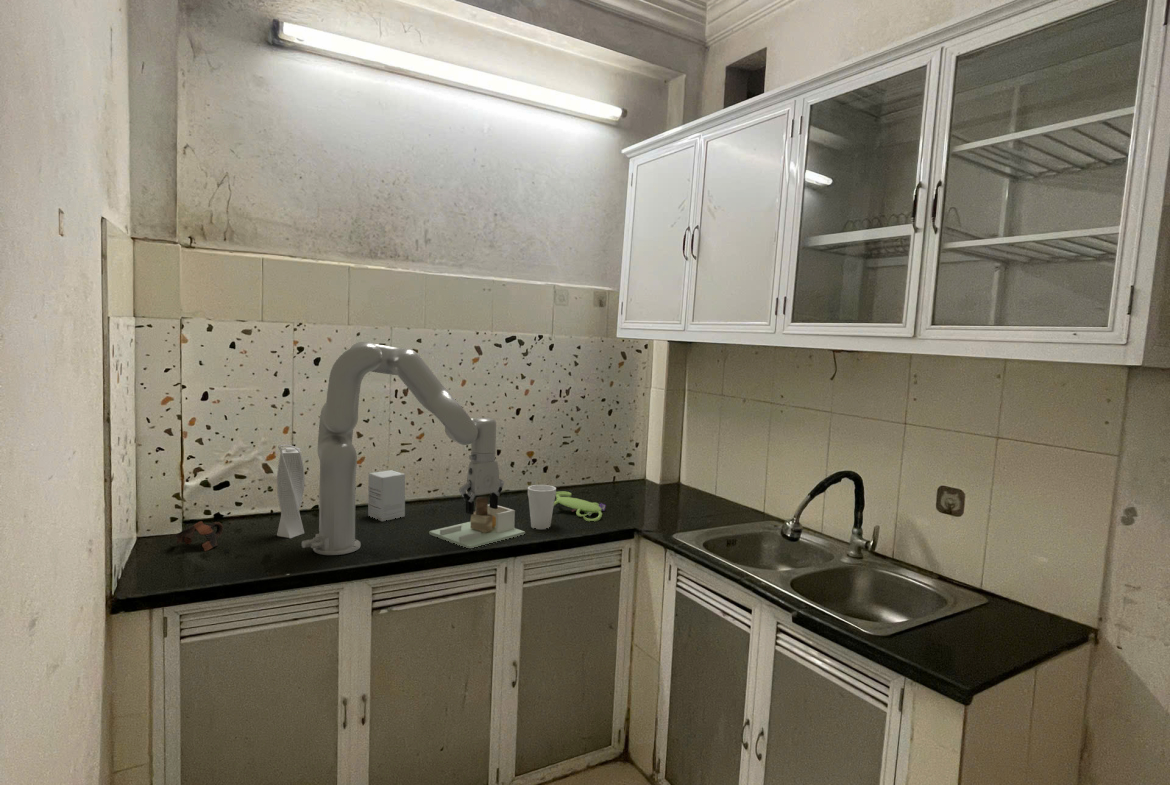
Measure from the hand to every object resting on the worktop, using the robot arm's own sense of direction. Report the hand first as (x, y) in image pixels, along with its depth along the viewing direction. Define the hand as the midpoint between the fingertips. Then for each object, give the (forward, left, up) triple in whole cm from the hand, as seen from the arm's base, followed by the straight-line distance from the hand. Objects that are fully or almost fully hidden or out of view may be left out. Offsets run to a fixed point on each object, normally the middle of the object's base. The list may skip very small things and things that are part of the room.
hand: (481, 510), depth 199 cm
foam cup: (+19, -7, -7) cm, 22 cm away
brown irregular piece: (-66, +43, -8) cm, 79 cm away
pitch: (-2, 0, -7) cm, 7 cm away
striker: (0, 0, -6) cm, 6 cm away
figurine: (+42, -1, -8) cm, 42 cm away
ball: (+4, 0, -4) cm, 6 cm away
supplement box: (-12, +36, -8) cm, 39 cm away
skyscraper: (-44, +37, -7) cm, 58 cm away
